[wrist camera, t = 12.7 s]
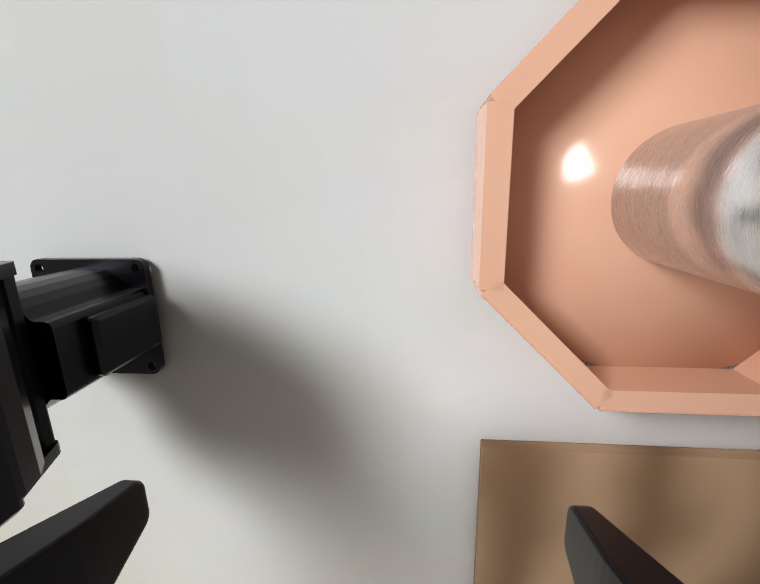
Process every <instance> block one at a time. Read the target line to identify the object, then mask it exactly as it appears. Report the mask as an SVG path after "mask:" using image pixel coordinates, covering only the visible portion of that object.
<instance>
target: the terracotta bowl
mask: <svg viewBox="0 0 760 584" xmlns="http://www.w3.org/2000/svg"><path fill="white" fill-rule="evenodd" d="M757 104H760V0H579V1H578V2H577V3H576V4H575V5H574V6H573V7H572V9H571V10H570V11H569V12H568V13H567V14H566V15H565V16H564V17H563V18H562V19H561V20H560V21H559V22H558V23H557V24H556V25H555V27H554V28H553V29H552V30H551V31H550V32H549V33H548V34H547V35H546V36H545V37H544V38H543V39H542V40H541V41H540V42H539V43H538V44H537V46H536V47H535V48H534V49H533V50H532V51H531V52H530V53H529V54H528V55H527V56H526V57H525V58H524V59H523V60H522V61H521V62H520V64H519V65H518V66H517V67H516V68H515V69H514V70H513V71H512V72H511V73H510V74H509V75H508V76H507V77H506V78H505V79H504V80H503V81H502V83H501V84H500V85H499V86H498V87H497V88H496V89H495V90H494V91H493V92H492V93H491V94H490V95H489V97H488V98H487V99H486V101H485V102H484V103H483V105H482V106H481V107H480V109H481V110H480V111H479V112H478V114H477V140H476V166H475V191H474V217H473V243H472V269H471V278H472V280H473V283H474V284H475V286H476V288H477V290H478V291H479V293H480V295H481V296H482V297H483V298H484V299H485V300H486V301H487V302H488V303H489V304H490V305H491V306H492V307H493V308H494V309H495V310H496V311H497V312H498V313H499V314H500V315H501V316H502V317H503V318H504V319H505V320H506V321H507V322H508V323H509V324H510V325H511V326H512V327H513V328H514V329H515V330H516V331H517V332H518V333H519V334H520V335H521V336H522V337H523V338H524V339H525V340H526V341H527V342H528V343H529V344H530V345H531V346H532V347H533V348H534V349H535V350H536V351H537V352H538V353H539V354H540V355H541V356H542V357H543V358H544V359H545V360H546V361H547V362H548V363H549V364H550V365H551V366H552V367H553V368H554V369H555V370H556V371H557V372H558V373H559V374H560V375H561V376H562V377H563V378H564V379H565V380H566V381H567V382H568V383H569V384H570V385H571V386H572V387H573V388H574V389H575V390H576V391H577V392H578V393H579V394H580V395H581V396H582V397H583V398H584V399H585V400H586V401H587V402H588V403H589V404H590V405H591V406H592V407H593V408H594V409H596V408H598V409H599V411H610V412H641V413H672V414H703V415H734V416H760V295H759V294H755V293H752V292H749V291H746V290H742V289H739V288H736V287H733V286H729V285H726V284H723V283H719V282H716V281H713V280H710V279H706V278H703V277H700V276H696V275H693V274H690V273H687V272H683V271H680V270H677V269H673V268H670V267H667V266H664V265H660V264H657V263H654V262H651V261H648V260H645V259H643V258H641V257H639V256H638V255H636V254H635V253H633V252H632V251H631V250H630V249H629V248H628V247H627V246H626V245H625V244H624V243H623V242H622V240H621V239H620V237H619V236H618V234H617V232H616V230H615V227H614V224H613V220H612V216H611V196H612V191H613V187H614V184H615V181H616V178H617V176H618V174H619V172H620V169H621V168H622V166H623V165H624V163H625V161H626V160H627V159H628V158H629V156H630V155H631V154H632V153H633V152H634V151H635V150H636V149H637V148H638V147H639V146H640V145H641V144H642V143H643V142H645V141H646V140H647V139H648V138H650V137H652V136H653V135H655V134H656V133H658V132H660V131H662V130H664V129H667V128H669V127H672V126H675V125H679V124H682V123H686V122H690V121H694V120H698V119H702V118H706V117H710V116H714V115H718V114H722V113H726V112H730V111H734V110H737V109H741V108H745V107H749V106H753V105H757ZM580 359H581V360H583V361H585V362H587V363H590V364H593V365H596V366H586V365H585V364H584V363H583V362H582V361H581V360H580ZM741 362H742V363H741ZM739 363H740V364H739ZM736 364H739V365H737V366H736V367H735V368H733V369H722V368H726V367H730V366H733V365H736Z"/></svg>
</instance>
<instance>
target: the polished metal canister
mask: <svg viewBox="0 0 760 584" xmlns="http://www.w3.org/2000/svg"><path fill="white" fill-rule="evenodd" d="M611 216H612V220H613V224H614V227H615V230H616V232H617V234H618V236H619V237H620V239H621V240H622V242H623V243H624V244H625V245H626V246H627V247H628V248H629V249H630V250H631V251H632V252H633V253H635V254H636V255H638V256H639V257H641V258H643V259H645V260H648V261H651V262H654V263H657V264H660V265H664V266H667V267H670V268H673V269H677V270H680V271H683V272H687V273H690V274H693V275H696V276H700V277H703V278H706V279H710V280H713V281H716V282H719V283H723V284H726V285H729V286H733V287H736V288H739V289H742V290H746V291H749V292H752V293H755V294H759V295H760V104H757V105H753V106H749V107H745V108H741V109H737V110H734V111H730V112H726V113H722V114H718V115H714V116H710V117H706V118H702V119H698V120H694V121H690V122H686V123H682V124H679V125H675V126H672V127H669V128H667V129H664V130H662V131H660V132H658V133H656V134H655V135H653V136H652V137H650V138H648V139H647V140H646V141H645V142H643V143H642V144H641V145H640V146H639V147H638V148H637V149H636V150H635V151H634V152H633V153H632V154H631V155H630V156H629V158H628V159H627V160H626V161H625V163H624V165H623V166H622V168H621V169H620V172H619V174H618V176H617V178H616V181H615V184H614V187H613V191H612V196H611Z"/></svg>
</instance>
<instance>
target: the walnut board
mask: <svg viewBox="0 0 760 584" xmlns="http://www.w3.org/2000/svg"><path fill="white" fill-rule="evenodd" d="M571 505H588V506H591V507H593V508H595V509H596V510H597V511H598V512H599V513H601V514H602V515H603V516H604V517H605V518H607V519H608V520H609V521H610V522H611V523H613V524H614V525H615V526H616V527H617V528H618V529H620V530H621V531H622V532H623V533H624V534H626V535H627V536H628V537H629V538H630V539H632V540H633V541H634V542H635V543H636V544H638V545H639V546H640V547H641V548H642V549H644V550H645V551H646V552H647V553H648V554H649V555H651V556H652V557H653V558H654V559H655V560H657V561H658V562H659V563H660V564H661V565H663V566H664V567H665V568H666V569H667V570H669V571H670V572H671V573H672V574H673V575H675V576H676V577H677V578H678V579H679V580H681V581H682V582H683V583H684V584H760V450H736V449H711V448H686V447H661V446H636V445H610V444H585V443H560V442H535V441H510V440H484V439H481V445H480V465H479V485H478V505H477V525H476V545H475V565H474V584H574V580H573V577H572V573H571V570H570V566H569V562H568V559H567V555H566V551H565V545H564V535H565V527H566V518H567V511H568V508H569V506H571Z"/></svg>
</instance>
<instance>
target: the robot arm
mask: <svg viewBox="0 0 760 584" xmlns="http://www.w3.org/2000/svg"><path fill="white" fill-rule="evenodd" d="M136 264H137V265H138V266H139V268H140V271H138V270H137V269H136ZM41 265H42V266H43V269H42V267H41ZM30 267H31V273H32V277H33V278H29V279H25V280H21V281H16V282H15V278H14V275H16V274H17V273H16V269H15V265H14V261H0V527H1V526H2V525H4V524H5V523H6V522H7V521H9V520H10V519H11V518H12V517H14V516H15V515H16V514H17V513H18V512H19V511H20V510H21V509H22V507H23V506H24V504H25V502H24V497H25V496H26V495H27V494H28V492H29V491H30V490H31V489H32V487H33V486H34V485H35V484H36V482H37V481H38V480H39V479H40V477H41V476H42V475H43V474H44V473H45V471H46V470H47V469H48V468H49V466H50V465H51V464H52V463H53V461H54V460H55V459H56V458H57V456H58V455H59V454H60V452H61V450H60V446H59V442H58V440H55V438H54V434H53V430H52V426H51V422H50V418H49V414H48V410H47V408H49V407H50V406H52V405H54V404H56V403H57V402H59V401H61V400H64V399H66V398H68V397H70V396H71V395H73V394H75V393H76V392H78V391H80V390H81V389H83V388H85V387H87V386H88V385H90V384H92V383H93V382H95V381H97V380H98V379H100V378H102V377H103V376H106V375H109V374H110V373H139V374H155V373H158V372H159V371H160V370H162V369H163V368H164V366H165V361H164V355H163V349H162V343H161V340H162V339H161V333H160V327H159V321H158V314H157V308H156V302H155V299H154V294H153V288H152V282H151V276H150V269H149V265H148V263H147V262H146V261H145V260H144V259H142V258H42V259H36V260H33V261H32V262H31V265H30ZM152 362H154V363H155V364H156V366H154V365H153V363H152ZM148 518H149V507H148V502H147V497H146V492H145V487H144V484H143V483H142V482H141V481H134V480H123V481H120V482H118V483H116V484H114V485H112V486H110V487H108V488H106V489H104V490H102V491H100V492H98V493H96V494H94V495H93V496H91V497H89V498H87V499H85V500H83V501H81V502H79V503H77V504H75V505H73V506H71V507H69V508H67V509H65V510H63V511H61V512H60V513H58V514H56V515H54V516H52V517H50V518H48V519H46V520H44V521H42V522H40V523H38V524H36V525H34V526H32V527H30V528H28V529H27V530H25V531H23V532H21V533H19V534H17V535H15V536H13V537H11V538H9V539H7V540H5V541H3V542H1V543H0V584H114V583H115V582H116V580H117V578H118V576H119V574H120V572H121V570H122V569H123V567H124V565H125V563H126V561H127V559H128V558H129V556H130V554H131V552H132V550H133V548H134V546H135V545H136V543H137V541H138V539H139V537H140V535H141V534H142V532H143V530H144V528H145V526H146V524H147V521H148ZM564 545H565V551H566V555H567V559H568V562H569V566H570V570H571V573H572V577H573V580H574V584H684V583H683V582H682V581H681V580H679V579H678V578H677V577H676V576H675V575H673V574H672V573H671V572H670V571H669V570H667V569H666V568H665V567H664V566H663V565H661V564H660V563H659V562H658V561H657V560H655V559H654V558H653V557H652V556H651V555H649V554H648V553H647V552H646V551H645V550H644V549H642V548H641V547H640V546H639V545H638V544H636V543H635V542H634V541H633V540H632V539H630V538H629V537H628V536H627V535H626V534H624V533H623V532H622V531H621V530H620V529H618V528H617V527H616V526H615V525H614V524H613V523H611V522H610V521H609V520H608V519H607V518H605V517H604V516H603V515H602V514H601V513H599V512H598V511H597V510H596V509H595V508H593V507H591V506H588V505H571V506H569V508H568V511H567V518H566V527H565V535H564Z"/></svg>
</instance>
